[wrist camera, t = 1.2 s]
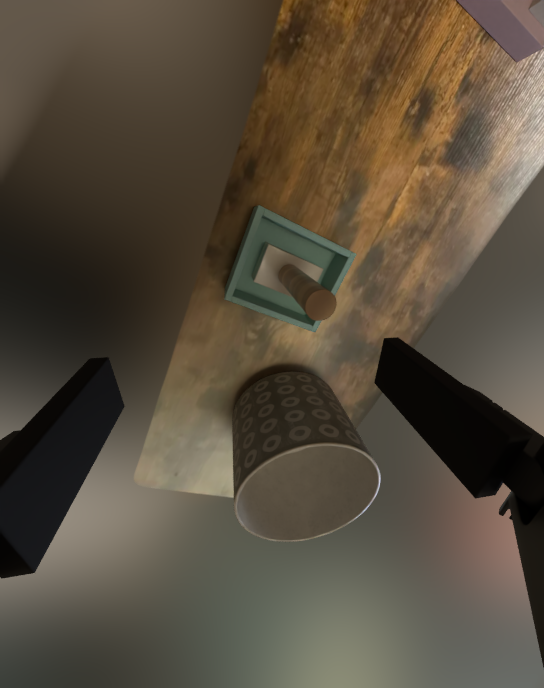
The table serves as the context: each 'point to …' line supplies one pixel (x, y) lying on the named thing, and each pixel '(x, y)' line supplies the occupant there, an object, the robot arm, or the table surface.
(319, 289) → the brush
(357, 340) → the table surface
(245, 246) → the green open box
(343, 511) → the planter
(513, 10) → the bed
